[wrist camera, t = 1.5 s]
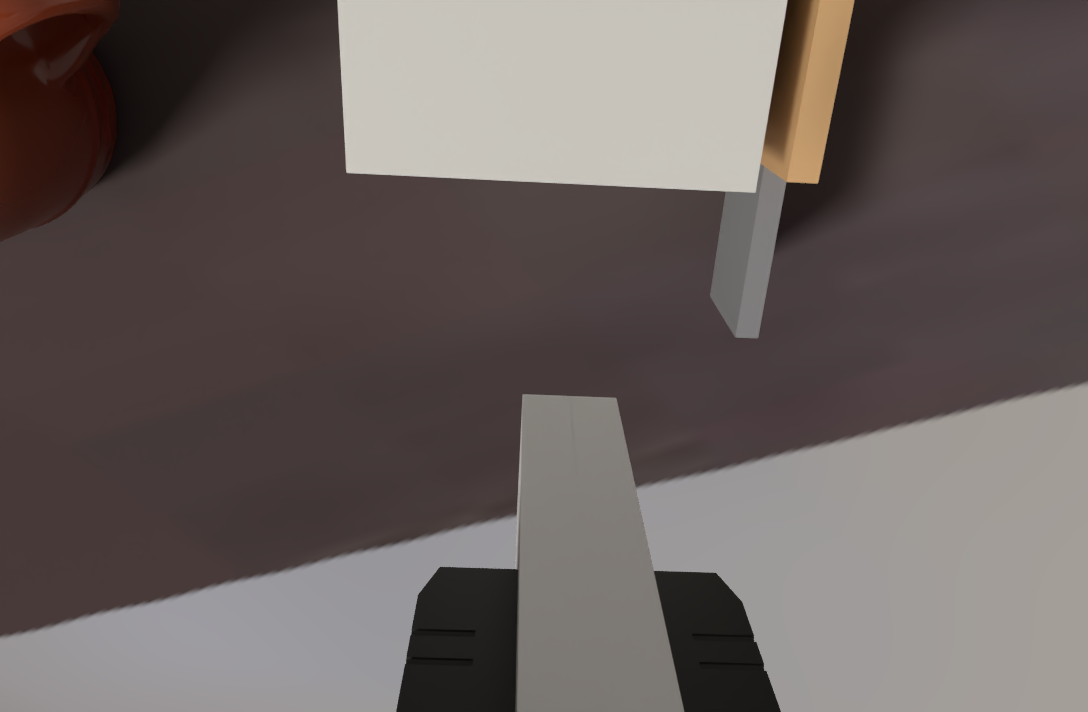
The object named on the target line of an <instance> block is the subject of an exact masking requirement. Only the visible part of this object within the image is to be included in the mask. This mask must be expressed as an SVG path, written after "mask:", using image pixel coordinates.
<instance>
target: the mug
mask: <svg viewBox="0 0 1088 712" xmlns="http://www.w3.org/2000/svg"><path fill="white" fill-rule="evenodd" d="M119 11H120V3H119V0H0V242H1V241H4V240H6V239H8V238H11V237H13V236H16V235H18V234H20V233H22V232H24V231H27V230H29V229H32V228H35V227H39V226H41V225H44V224H46V223H49V222H51V221H53V220H54V219H56V218H58V217H60V216H61V215H62V214H64V213H65V212H67V211H68V210H69V209H70V208H71V207H72V206H73V205H74V204H76V202H77V201H78V200H79V199H80V198H81V197H82V196H83V195H84V194H85V193H87V192H88V191H89V190H90V189H91V188H92V187H93V186H94V185H95V184H96V183H97V182H98V181H99V180H100V178H101V177H102V175H103V174H104V172H105V171H106V169H107V167H108V165H109V163H110V160H111V158H112V155H113V151H114V147H115V142H116V134H117V117H116V107H115V100H114V95H113V91H112V88H111V85H110V83H109V80H108V78H107V76H106V74H105V72H104V70H103V68H102V67H101V65H100V63H99V61H98V60H97V58H96V56H95V55H94V53H93V50H94V49H95V47H96V45H97V44H98V42H99V41H100V40H101V38H102V37H103V36H104V34H105V33H106V32H107V31H108V30H109V29H110V28H111V26H112V25H113V24H114V22H115V21H116V19H117V17H118V14H119Z"/></svg>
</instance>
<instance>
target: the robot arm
mask: <svg viewBox="0 0 1088 712" xmlns="http://www.w3.org/2000/svg"><path fill="white" fill-rule="evenodd" d="M397 712H781V711H780V708H779V705H778V702H777V700H776V697H775V694H774V691H773V688H772V686H771V683H770V680H769V677H768V674H767V672H766V671H764V663H763V660H762V657H761V654H760V651H759V649H758V646H757V643H756V642H754V635H753V632H752V629H751V626H750V624H749V621H748V617H747V615H746V612H745V609H744V606H743V603H742V601H741V600H740V599H739V598H738V597H737V596H736V595H735V594H734V592H733V591H732V590H731V589H730V588H729V587H728V586H727V585H726V584H725V583H724V581H723V580H722V579H721V578H720V577H719V576H718V575H717V574H716V573H701V572H667V571H654V570H653V566H652V561H651V556H650V552H649V548H648V543H647V538H646V534H645V529H644V524H643V520H642V515H641V511H640V506H639V501H638V497H637V492H636V487H635V483H634V478H633V474H632V469H631V464H630V460H629V455H628V451H627V446H626V441H625V437H624V432H623V428H622V423H621V418H620V414H619V409H618V404H617V400H616V398H605V397H580V396H554V395H529V394H523V399H522V420H521V441H520V463H519V484H518V506H517V528H516V562H515V569H488V568H456V567H440V568H439V569H438V570H437V572H436V573H435V574H434V575H433V577H432V578H431V579H430V580H429V582H428V583H427V584H426V586H425V587H424V588H423V590H422V591H421V592H420V593H419V595H418V599H417V604H416V609H415V615H414V620H413V626H412V634H411V636H410V642H409V647H408V652H407V660H406V664H405V668H404V674H403V679H402V684H401V689H400V694H399V700H398V705H397Z"/></svg>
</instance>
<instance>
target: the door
mask: <svg viewBox="0 0 1088 712" xmlns="http://www.w3.org/2000/svg"><path fill="white" fill-rule="evenodd" d="M854 1H855V0H788V1H787V7H786V13H785V19H784V25H783V31H782V37H781V43H780V49H779V55H778V61H777V67H776V73H775V79H774V85H773V91H772V97H771V103H770V109H769V115H768V121H767V127H766V133H765V139H764V145H763V151H762V157H761V163H760V169H759V175H758V181H757V187H756V193H750V192H730V191H726V194H725V200H724V207H723V214H722V220H721V227H720V234H719V240H718V247H717V254H716V260H715V267H714V273H713V280H712V287H711V293H710V297H711V299H712V300H713V302H714V304H715V305H716V307H717V308H718V310H719V312H720V313H721V315H722V316H723V318H724V320H725V321H726V323H727V325H728V326H729V328H730V329H731V331H732V333H733V334H734V336H735V337H742V338H758V335H759V330H760V324H761V319H762V313H763V308H764V302H765V297H766V291H767V286H768V281H769V275H770V270H771V264H772V259H773V253H774V248H775V242H776V237H777V231H778V226H779V220H780V215H781V209H782V204H783V198H784V193H785V187H786V182H795V183H815V184H818V181H819V176H820V171H821V166H822V161H823V156H824V151H825V146H826V141H827V136H828V131H829V126H830V121H831V116H832V111H833V106H834V101H835V96H836V91H837V86H838V81H839V76H840V71H841V66H842V61H843V56H844V51H845V46H846V41H847V36H848V31H849V26H850V21H851V16H852V11H853V6H854Z"/></svg>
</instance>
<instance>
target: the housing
mask: <svg viewBox="0 0 1088 712" xmlns="http://www.w3.org/2000/svg"><path fill="white" fill-rule="evenodd" d="M337 1H338V20H339V40H340V59H341V78H342V97H343V116H344V135H345V154H346V173H360V174H381V175H401V176H422V177H442V178H463V179H483V180H504V181H525V182H545V183H566V184H586V185H607V186H627V187H648V188H668V189H689V190H709V191H730V192H750V193H756V187H757V181H758V175H759V169H760V163H761V157H762V151H763V145H764V139H765V133H766V127H767V121H768V115H769V109H770V103H771V97H772V91H773V85H774V79H775V73H776V67H777V61H778V55H779V49H780V43H781V37H782V31H783V25H784V19H785V13H786V7H787V1H788V0H337Z"/></svg>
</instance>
